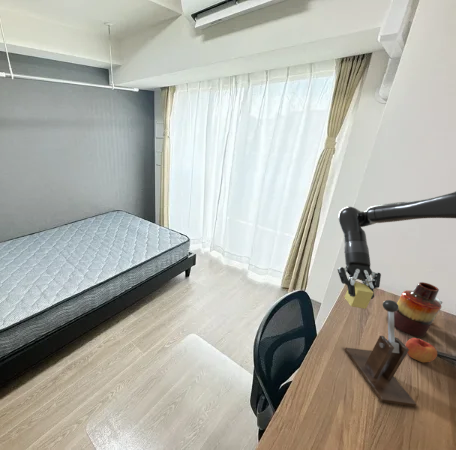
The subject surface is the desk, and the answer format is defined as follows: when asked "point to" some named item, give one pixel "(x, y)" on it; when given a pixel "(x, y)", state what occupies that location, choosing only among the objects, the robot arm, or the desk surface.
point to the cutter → (382, 370)
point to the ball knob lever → (391, 323)
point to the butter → (360, 296)
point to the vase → (417, 310)
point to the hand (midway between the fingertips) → (361, 297)
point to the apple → (421, 350)
